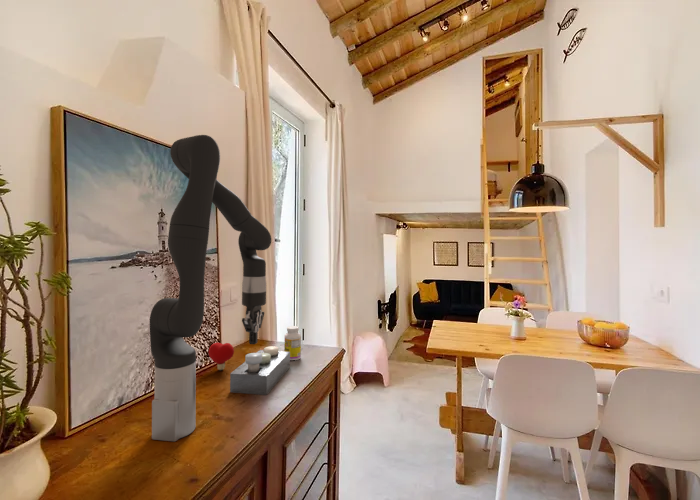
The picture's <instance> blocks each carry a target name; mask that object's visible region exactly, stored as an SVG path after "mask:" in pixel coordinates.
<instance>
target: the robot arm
mask: <svg viewBox="0 0 700 500" xmlns="http://www.w3.org/2000/svg"><path fill="white" fill-rule="evenodd" d="M170 157H171V158H170V159H171V161H172V163H173V164H174V166H175V167H176V168H177V169H178V171H180V172H181V173H182V174H183V176H185V177H186V178H187V179H188V183H187V186H186V190H185V191H184V193H183V194H182V197H181V198H180V199H179V201H178V203H177V205H176V207H175V209H174V210H173V212H172V215H171V218H170V222H169V228H168V236H167V248H168V251H169V254H170V258H171V259H172V263H174V266H175V269H176V271H177V275H178V280H179V293H178V298H175V297H163V298H161V299H160V300H158V301H156V303H155V304H154V306H153V307H152V309H151V311H150V316H149V342H150V343H149V344H150V352H151V356H152V357H153V359H154V399H152V400H151V440H155V441H156V440H158V441H165V442H167V441H168V442H176V441H178V440H179V439H182V438H185V437H187V436H188V435H190V434H191V433H193V432H194V430H195V429H196V422H197V421H196V419H197V417H196V415H197V414H196V413H197V412H196V411H197V410H196V401H197V398H196V397H197V396H196V395H197V394H196V392H197V390H196V387H197V383H196V382H197V377H196V376H197V375H196V374H197V372H196V371H197V368H196V367H197V352H196V349H195V348H194V347H193V346H191V345H190V344H189V343H187V341H185V339H184V338H193V337H195V335H196V334H198V333H199V331H200V329H201V327H202V324H203V321H204V315H205V271H206V261H207V260H206V258H207V252H208V251H207V250H208V245H209V236H210V234H209V233H210V224H211V223H210V221H211V215H212V214H211V213H212V207H213V206H212V205H214V206H215V207H216V209H217V210H218V211H219V212H220V213H221V215H222V216H223V217H224V219H225V220H226V222H228V224H229V225H230V227H231V228H232V229H233V230H234V231H236V232H240V234H239V236H238V239H237V240H238V248H239V251H240V253H239V254H240V257H241V261H242V264H243V267H242V270H243V271H242V272H243V274H242V283H241V305H242V306H243V307H244V306H245V307H246V310H245V317H242V318H241V322H242V325H243V327H244V330H245V332H247V333H249V334H248V336H249V338H248V339H249V345H256V344H258V343H259V342H258V341H259V338H258V336H259V335H258V334H259V333H258V332H259V330H260V329H261V328H262V325H263V320H264V318H265V317H264V316H265V311H263V310H262V308H263V306H265V305H266V304H267V280H266V279H267V277H266V275H267V272H266V271H267V270H266V269H267V262H266V260H265V259H264V258H263V257H260V256H258V253H257V251H265V250H268V249H269V248H270V246H271V244H272V235H271V233H270V231H269V230H268V228H267V227H266V226H265V225H263V223H262V222H261V221H259V220H258V219H257V218H255V217H254V216H253V215H252V213H251V212H250V210H249V209H248V207H247V206H246V205H245V202H243V200H242V198H240V196H238V195H237V194H236V193H235V192H233V191H232V190H231V189H229V188H228V187H227V186H225V185H224V184H223V183H221V182H220V181H219V180H218V179H217V177H218V173H219V168H220V163H221V152H220V148H219V145H218V143H217V141H216V140H215V139H214V138H213V137H212V136H210V135H207V134H199V135H198V134H197V135H193V136H187V137H184V138H180V139H176V140H175V141H174V142H173V143H172V144H171V147H170Z"/></svg>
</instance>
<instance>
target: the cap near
mask: <svg viewBox="0 0 700 500" xmlns="http://www.w3.org/2000/svg"><path fill="white" fill-rule="evenodd" d="M244 362H245V363H247V364H248V372H250V373H255V372H258V371H259V363H261V362H262V354H261V353H257V352H251V353H247V354H245V361H244Z"/></svg>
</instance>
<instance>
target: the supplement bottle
mask: <svg viewBox="0 0 700 500" xmlns="http://www.w3.org/2000/svg"><path fill="white" fill-rule="evenodd" d="M299 330H300V328H299V326H297V325H290V326H287V327H286V331H287V333H285V334H284V351H285V352H290V360H295V361H298V360H300V359H301V357H302V356H301V355H302V353H301V352H302V336H301V333H300V332H299Z"/></svg>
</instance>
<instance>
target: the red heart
mask: <svg viewBox="0 0 700 500" xmlns="http://www.w3.org/2000/svg"><path fill="white" fill-rule="evenodd" d="M208 348H209V349H208V356H209V358H210V359H211V360H212V361H213V362H214V363H216V364H217V367H216V368H217V370H219V371H223V370H224V369H225V368H226V362H227V361H229V360H231V358H233V357H234V353H235V349H234V346H233V345H232V344H231V343H229V342H225V343H221V342H214V343H212V344H211V345H210V346H209V347H208Z"/></svg>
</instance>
